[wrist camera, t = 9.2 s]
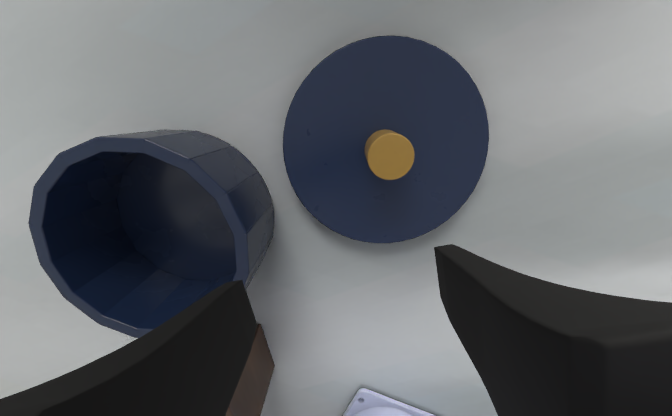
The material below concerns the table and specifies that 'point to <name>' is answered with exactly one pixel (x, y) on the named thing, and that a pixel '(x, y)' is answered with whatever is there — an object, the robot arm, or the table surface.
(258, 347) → the walnut block
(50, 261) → the tin
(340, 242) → the table surface
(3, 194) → the table surface
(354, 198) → the tin lid
